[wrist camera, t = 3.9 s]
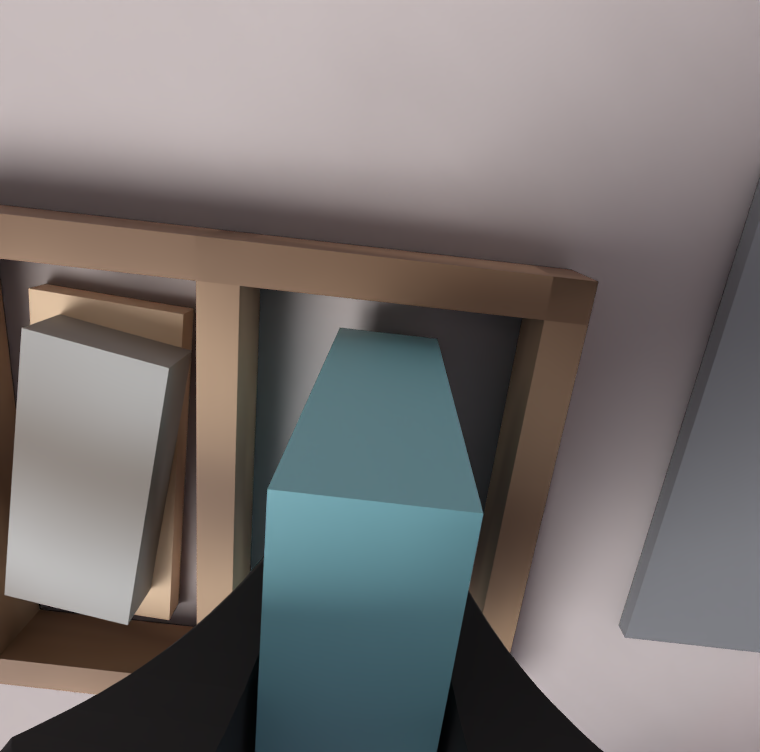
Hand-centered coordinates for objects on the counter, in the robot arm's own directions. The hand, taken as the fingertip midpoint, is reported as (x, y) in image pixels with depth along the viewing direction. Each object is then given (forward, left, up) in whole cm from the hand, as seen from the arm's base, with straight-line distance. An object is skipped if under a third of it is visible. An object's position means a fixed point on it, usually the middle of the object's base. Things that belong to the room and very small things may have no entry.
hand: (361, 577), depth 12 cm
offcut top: (0, +8, -3) cm, 8 cm away
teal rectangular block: (0, 0, -3) cm, 3 cm away
